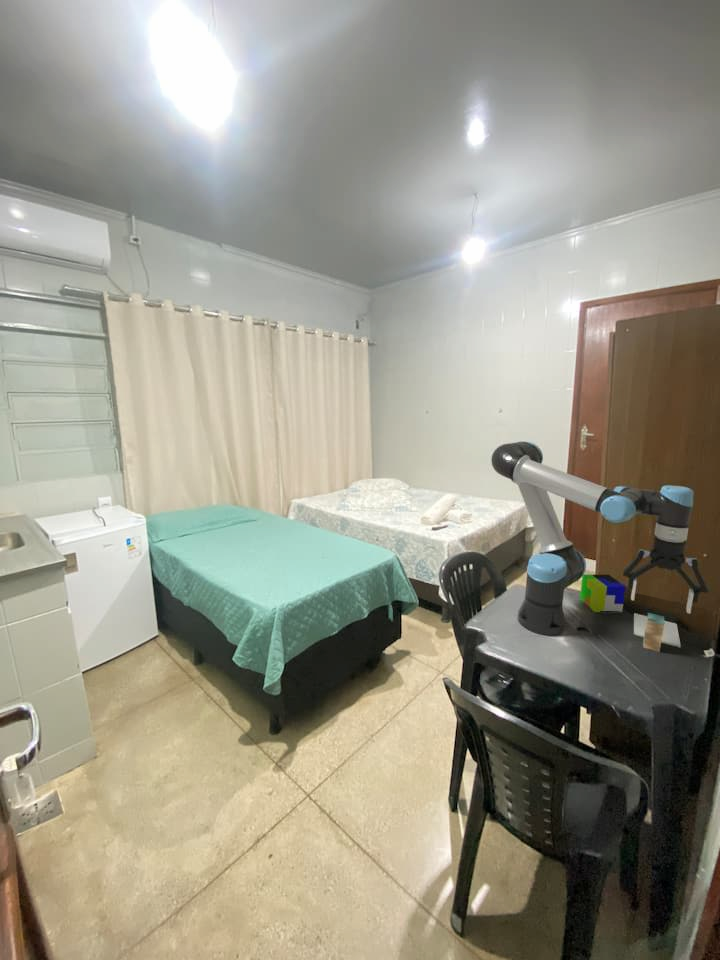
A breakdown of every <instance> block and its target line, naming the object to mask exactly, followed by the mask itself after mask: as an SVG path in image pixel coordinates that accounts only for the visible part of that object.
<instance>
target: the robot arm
mask: <svg viewBox="0 0 720 960" xmlns="http://www.w3.org/2000/svg"><path fill="white" fill-rule="evenodd" d="M543 456H544V455H543V452H542V450H541V449H540V447H539V446H538V445H536V444H535V443H533V442H530V441H517V442H509V443H503V444H501V445H499V446H498V447H496V448H495V449H494V451H493V453H492V454H491V458H490V459H491V460H490V461H491V467H492V469H494V471H495V472H496V473H497V474H499V475H500V476H502V477H504V478H507V479H509V480H511V482H512V483H514V484H516V485H517V486H518V489H519V492H520V494H521V497H522V499H523V501H524V504H525V507H526V509H527V512H528V514H529V517H530V520H531V523H532V526H533V528H534V531H535V533H536V536H537V538H538V540H539V544H540V548H539V550H538V553H537V554H534V555H532V556H531V557H530V558H529V560H528V565H527V566H526V567H527V568H526V580H525V581H526V582H525V594H524V599H523V601H522V603H521V605H520V607H519V609H518V611H517V621H518V622H519V624H520V625H521V626H522V627H524V628H525V629H526V630H529V631H530V632H534V633H537V634H540V635H544V636H545V635H546V636H557V635H561V634H563V633H564V632H565V631H566V628H567V627H566V626H567V620H566V615H565V613H564V609H563V600H564V593H565V589H567V588H569V587H570V586H572V585H573V584H574V583H576V582H578V581H579V580H580V579H582V576H583V574H585V573H586V570H587V561H586V558H585V557H584V555H583V554H582V553H581V552H580V551H579V550H578V549H576V548H575V546H574V544H573V542H572V541H570V540H568V539H567V538H566V535H565V534H564V531H563V528H562V526H561V523H560V521H559V518H558V516H557V514H556V511H555V508H554V505H553V502H552V501H551V499H550V496H549V493H551V494H553V495H555V496H558V497H561V498H563V499H566V500H568V501H570V502H573V503H576V504H578V505H581V507H585V508H588V509H590V510H592V511H595V512H597V513H599V514H601V516H602V517H603V519H605V520H607V521H608V522H610V523H615V524H617V523H622V522H623V523H624V522H627V521H629V520H631V519H632V518H633V517H634V516H637V515H638V514H640V515H646V516H647V515H648V516H652V517H656V523H655V529H654V535H655V536H654V537H653V541H652V542H653V543H652V549H651V550H650V551H649V550H645V549H644V548H639V549H638V552H637V555H636V556H635V557H634V558H633V560H631V562H630V563H629V564H628V565H627V566H626V567H625V568H624V570H623V571H622V575H623V576H624V577H625V578H628V585H627V587H628V589H629V590H630V589H631V594H630V600H631V601H635V596H636V589H637V581H638V579H637V578H638V577H640V576H641V575H643V574H645V573H646V572H648V571H650V570H652V569H654V568H656V567H657V568H659V569H666V570H668V571H673V570H676V572H677V573H679V574H680V576H681V577H682V579H683V580H684V581H685V582H686V583H687V585H688V586H689V587H690V588H689V589H688V595H687V596H688V597H687V603H686V608H685V609H686V613H687V614H691V613H692V611H691V610H692V605H693V603H694V604H697V603H698V600H699V595H700V594H701V593H704V594H705V593H708V592H709V590H708V587H707V585H706V583H705V580H704V579H703V576H702V574H701V572H700V570H699V567H698V564H699V562H698V560H697V558H696V557H695V556H693V557H691V558H690V557H686V556H685V552H686V546H687V542H686V541H687V539H688V535H689V534H688V532H689V526H690V521H691V517H692V510H693V507H694V490H693V489H691V488H689V487H687V486H682V485H670V484H669V485H663V486H662V487H661V489H660V490H652V489H651V490H650V489H644V488H638V487H637V488H636V487H632V486H616V487H614V488H613V489H611V488H608V487H605V486H603V485H600V484H597V483H594V482H592V481H589V480H586V479H583V478H581V477H579V476H575V475H573V474H570V473H567V472H565V471H562V470H560V469H556V468H554V467H552V466H548V465H546V464H543V461H544V457H543ZM548 492H549V493H548ZM648 556H649V557H650V558H651V560H649V561H647V562H646V563H645V564H644V565H642V566H640V567H639V568H637V569H636V570H634V569H635V568H636V566H638V565H639V563H640V562H641V561H642V560H643V558H644V559H645V558H647V557H648ZM685 563H687V564H688V566H689V567H691V568H692V571H693V573H694V575H695V578H696V580H697V581H698V584H699V585H700V586H698V585H697V583H695V582H694V581H693V579H692V577H690V575H689V574H688V573H687V571H685V569H684V568H683V567H682V565H683V564H685ZM633 570H634V571H633Z"/></svg>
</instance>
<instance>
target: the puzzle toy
mask: <svg viewBox="0 0 720 960" xmlns="http://www.w3.org/2000/svg"><path fill="white" fill-rule="evenodd" d="M626 589H627V586H625V585H624V584H623V583H621V582H619V580H617V579H616V578H614V577H613V576H612V575H610V574H585V573H584V574H583V576H582V577H581V587H580V594H579V599H580V600H581V601H582V602H583V603H584V604H585V605H587V606H588V607H589V609H591V611H592V612H594V613H601V612H600V611H620V612H619V613H622V612H623V607H624V601H625V595H626Z"/></svg>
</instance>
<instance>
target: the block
mask: <svg viewBox="0 0 720 960" xmlns="http://www.w3.org/2000/svg"><path fill="white" fill-rule="evenodd" d="M646 616H647V622H646V628H645V634H644V637H643V641H642V645H643V649H648V650H651V651H655V652H658V653H660V651H661V646H662V642H661V641H662V635H663V629H664V624H665V621H666V620H665V616H663V615H659V614H655V613H651V612H647V615H646Z"/></svg>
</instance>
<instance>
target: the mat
mask: <svg viewBox="0 0 720 960" xmlns="http://www.w3.org/2000/svg"><path fill="white" fill-rule="evenodd" d="M647 616H648V615H644V614H639V613H635V612H634V613H633V635H634V636H638V637H640V638H644V634H645V628H646V622H647ZM662 643H663V644H666V645H669V646H673V647H676V646H677V647H676V648H681V647H682V646H681V641H680V635H679V629H678V624H677V623H674V622H672V621H667V620H665V624H664V629H663V635H662V641H661V644H662Z"/></svg>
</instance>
